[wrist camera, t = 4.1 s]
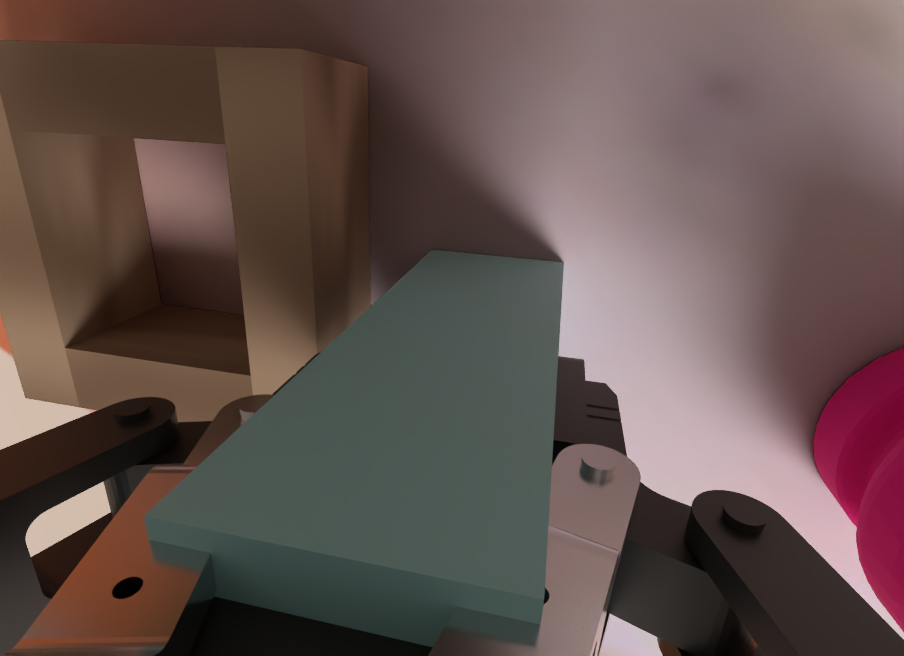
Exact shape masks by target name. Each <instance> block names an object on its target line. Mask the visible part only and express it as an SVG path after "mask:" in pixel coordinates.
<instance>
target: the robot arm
mask: <svg viewBox="0 0 904 656" xmlns="http://www.w3.org/2000/svg"><path fill="white" fill-rule="evenodd" d="M320 353H321V352H320ZM320 353H317V354H316V355H314V356H313V357H312V358H311V359H310V360H309V361H308V362H307V363H306V364H305V366H302V367H301V368H300V369H299V370H298V371H297V372H296V374H294V375H293V376H292V377H290V378H289V379H288V380H287V381H286V382H285V383H284V384H283V385H282V386H281V387H279V388H278V389H277V390H276V391H275V392H274V393H273V394H272V395H269V394H260V395H252V396H247V397H243V398H240V399H237V400H234V401H232V402H230V403H228V404H227V405H225V406H224V407H223V408H222V409H221V410H220V411H219V412H218V414H217V415H216V416H215V418H214V419H213V421H197V422H178V419H177V413H176V408H175V405H174V404H173V402H171V401H170V400H167V399H165V398H160V397H140V398H133V399H128V400H124V401H121V402H118V403H115V404H112V405H110V406H107V407H105V408H102V409H100V410H98V411H95V412H93V413H90V414H88V415H85V416H83V417H81V418H78V419H75V420H73V421H70V422H68V423H66V424H63V425H61V426H58V427H56V428H54V429H51V430H48V431H46V432H43V433H41V434H39V435H36V436H34V437H31V438H29V439H26V440H24V441H21V442H19V443H16V444H14V445H11V446H9V447H6V448H4V449H1V450H0V656H600V652H601V648H602V644H603V641H604V637H605V633H606V629H607V625H608V621H609V618H610V614H612V615H614V616H616V617H618V618H620V619H622V620H624V621H626V622H628V623H630V624H632V625H634V626H636V627H638V628H640V629H642V630H644V631H646V632H648V633H650V634H652V635H654V636H656V637H657V640H658V644H659V648H660V650H661V652H662V654H663V656H904V640H903V639H902V638H901V637H900V636H899V635H898V634H897V633H896V632H895V631H894V630H893V629H892V628H891V627H890V626H889V624H888V623H887V622H886V621H885V620H884V619H883V618H882V617H881V616H880V615H879V614H878V613H877V612H876V611H875V610H874V609H873V608H872V607H871V606H870V605H869V604H868V603H867V602H866V601H865V600H864V599H863V598H862V597H861V596H860V595H859V594H858V593H857V592H856V591H855V590H854V589H853V588H852V587H851V586H850V585H849V584H848V583H847V582H846V581H845V580H844V579H843V578H842V577H841V576H840V575H839V574H838V573H837V572H836V571H835V570H834V569H833V568H832V567H831V566H830V565H829V563H828V562H827V561H826V560H825V559H824V558H823V557H822V556H821V555H820V554H819V553H818V552H817V551H816V550H815V549H814V548H813V547H812V546H811V545H810V544H809V543H808V542H807V541H806V540H805V539H804V538H803V537H802V536H801V535H800V534H799V533H798V532H797V531H796V530H795V529H794V528H793V527H792V526H791V525H790V524H789V523H788V522H787V521H786V520H785V519H784V518H783V517H782V516H781V515H780V514H779V513H778V512H776V511H775V510H773V509H772V508H771V507H769V506H767V505H766V504H764V503H762V502H760V501H758V500H756V499H754V498H751V497H749V496H746V495H743V494H740V493H736V492H732V491H725V490H712V491H706V492H703V493H701V494H699V495H698V496H697V497H696V498H695V499H694V501H693V503H692V506H688V505H685V504H683V503H680V502H677V501H675V500H672V499H669V498H667V497H664V496H662V495H660V494H658V493H656V492H654V491H652V490H651V489H649V488H648V487H646V486H645V485H644V484H642V483H641V482H640V478H641V476H640V472H639V470H638V468H637V466H636V465H635V464H634V463H633V462H632V461H631V460H630V459H629V458H628V457H627V454H626V448H625V442H624V436H623V430H622V424H621V418H620V412H619V406H618V399H617V395H616V394H615V393H614V392H613V391H612V390H611V389H610V388H609V387H608V386H607V385H606V383H598V382H591V381H585V368H584V360H583V359H575V358H567V357H560V356H558V369H557V386H556V403H555V421H554V438H553V455H552V473H551V490H550V507H549V525H548V542H547V559H546V577H545V594H544V604H543V611H542V617H541V624H535V623H531V622H526V621H522V620H517V619H512V618H508V617H503V616H499V615H494V614H489V613H485V612H480V611H475V610H471V609H466V608H462V607H456V609H455V610H454V612H453V614H452V616H451V617H450V619H449V621H448V622H447V624H446V626H445V628H444V629H443V631H442V633H441V634H440V636H439V638H438V640H437V641H436V643H435V645H434V646H433V647H429V646H425V645H421V644H417V643H412V642H408V641H404V640H399V639H395V638H391V637H387V636H382V635H378V634H374V633H369V632H365V631H361V630H356V629H352V628H348V627H344V626H339V625H335V624H331V623H326V622H322V621H318V620H314V619H309V618H305V617H301V616H296V615H292V614H288V613H283V612H279V611H275V610H271V609H266V608H262V607H258V606H253V605H249V604H245V603H241V602H236V601H232V600H228V599H223V598H219V597H215V596H214V595H215V593H216V591H217V588H216V582H215V576H214V570H213V564H212V558H211V553H208V552H204V551H199V550H195V549H190V548H185V547H181V546H176V545H171V544H167V543H162V542H158V541H153V540H149V538H148V534H147V529H146V525H145V520H144V516H145V515H146V514H147V513H148V512H149V511H150V510H151V509H152V508H153V507H154V506H155V505H156V504H157V503H159V502H160V501H161V500H162V499H163V498H164V497H165V496H166V495H167V494H168V493H169V492H170V491H172V490H173V489H174V488H175V487H176V486H177V485H178V484H179V483H180V482H181V481H182V480H183V479H185V478H186V477H187V476H188V475H189V474H190V473H191V472H192V471H193V470H194V469H195V468H196V467H197V466H199V465H200V464H201V463H202V462H203V461H204V460H205V459H206V458H207V457H208V456H209V455H210V454H212V453H213V452H214V451H215V450H216V449H217V448H218V447H219V446H220V445H221V444H222V443H223V442H225V441H226V440H227V439H228V438H229V437H230V436H231V435H232V434H233V433H234V432H235V431H236V430H237V429H239V428H240V427H241V426H242V425H243V424H244V423H245V422H246V421H247V420H248V419H249V418H250V417H252V416H253V415H254V414H255V413H256V412H257V411H258V410H259V409H260V408H261V407H262V406H263V405H265V404H266V403H267V402H268V401H269V400H270V399H271V398H272V397H273V396H274V395H275V394H276V393H277V392H279V391H280V390H281V389H282V388H283V387H284V386H285V385H286V384H287V383H288V382H289V381H290V380H292V379H293V378H294V377H295V376H296V375H297V374H298V373H299V372H300V371H301V370H302V369H303V368H305V367H306V366H307V365H308V364H309V363H310V362H311V361H312V360H313V359H314V358H315V357H316V356H317V355H319V354H320ZM103 481H104V485H105V489H106V493H107V497H108V501H109V505H110V509H111V513H109V514H107V515H105V516H103V517H102V518H100V519H98V520H96V521H95V522H93V523H91V524H89V525H88V526H86V527H84V528H82V529H80V530H79V531H77V532H75V533H73V534H72V535H70V536H68V537H66V538H64V539H63V540H61V541H59V542H58V543H56V544H54V545H52V546H51V547H49V548H47V549H45V550H43V551H42V552H40V553H38V554H36V555H34V556H33V557H30V554H29V551H28V548H27V545H26V541H25V536H26V532H27V530H28V528H29V526H30V524H31V523H32V522H33V521H34V520H35V519H36V518H37V517H38V516H39V515H40V514H41V513H43V512H45V511H46V510H48V509H50V508H52V507H54V506H56V505H58V504H60V503H62V502H64V501H66V500H68V499H70V498H71V497H74V496H75V495H77V494H79V493H81V492H83V491H85V490H87V489H89V488H91V487H93V486H95V485H97V484H99V483H101V482H103Z"/></svg>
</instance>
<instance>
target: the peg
mask: <svg viewBox="0 0 904 656" xmlns="http://www.w3.org/2000/svg"><path fill="white" fill-rule="evenodd" d="M563 265H564V262H557V261H546V260H536V259H525V258H515V257H505V256H494V255H484V254H473V253H463V252H452V251H442V250H431V251H430V252H429V253H428V254H427V255H426V256H425V257H423V258H422V259H421V260H420V261H419V262H418V263H417V264H416V265H415V266H414V267H413V268H412V269H410V270H409V271H408V272H407V273H406V274H405V275H404V276H403V277H402V278H401V279H400V280H399V281H397V282H396V283H395V284H394V285H393V286H392V287H391V288H390V289H389V290H388V291H387V292H386V293H385V294H383V295H382V296H381V297H380V298H379V299H378V300H377V301H376V302H375V303H374V304H373V305H372V306H370V307H369V308H368V309H367V310H366V311H365V312H364V313H363V314H362V315H361V316H360V317H359V318H357V319H356V320H355V321H354V322H353V323H352V324H351V325H350V326H349V327H348V328H347V329H346V330H345V331H343V332H342V333H341V334H340V335H339V336H338V337H337V338H336V339H335V340H334V341H333V342H332V343H330V344H329V345H328V346H327V347H326V348H325V349H324V350H323V351H322V352H321V353H320V354H319V355H317V356H316V357H315V358H314V359H313V360H312V361H311V362H310V363H309V364H308V365H307V366H306V367H305V368H303V369H302V370H301V371H300V372H299V373H298V374H297V375H296V376H295V377H294V378H293V379H292V380H290V381H289V382H288V383H287V384H286V385H285V386H284V387H283V388H282V389H281V390H280V391H279V392H277V393H276V394H275V395H274V396H273V397H272V398H271V399H270V400H269V401H268V402H267V403H266V404H265V405H263V406H262V407H261V408H260V409H259V410H258V411H257V412H256V413H255V414H254V415H253V416H252V417H250V418H249V419H248V420H247V421H246V422H245V423H244V424H243V425H242V426H241V427H240V428H239V429H237V430H236V431H235V432H234V433H233V434H232V435H231V436H230V437H229V438H228V439H227V440H226V441H225V442H223V443H222V444H221V445H220V446H219V447H218V448H217V449H216V450H215V451H214V452H213V453H212V454H210V455H209V456H208V457H207V458H206V459H205V460H204V461H203V462H202V463H201V464H200V465H199V466H197V467H196V468H195V469H194V470H193V471H192V472H191V473H190V474H189V475H188V476H187V477H186V478H185V479H183V480H182V481H181V482H180V483H179V484H178V485H177V486H176V487H175V488H174V489H173V490H172V491H170V492H169V493H168V494H167V495H166V496H165V497H164V498H163V499H162V500H161V501H160V502H159V503H157V504H156V505H155V506H154V507H153V508H152V509H151V510H150V511H149V512H148V513H147V514H146V515H145V516H144V520H145V525H146V529H147V534H148V538H149V540H153V541H158V542H162V543H167V544H171V545H176V546H181V547H185V548H190V549H195V550H199V551H204V552H208V553H211V558H212V564H213V570H214V576H215V582H216V588H217V591H216V593H215V595H214V596H215V597H219V598H223V599H228V600H232V601H236V602H241V603H245V604H249V605H253V606H258V607H262V608H266V609H271V610H275V611H279V612H283V613H288V614H292V615H296V616H301V617H305V618H309V619H314V620H318V621H322V622H326V623H331V624H335V625H339V626H344V627H348V628H352V629H356V630H361V631H365V632H369V633H374V634H378V635H382V636H387V637H391V638H395V639H399V640H404V641H408V642H412V643H417V644H421V645H425V646H429V647H433V646H434V645H435V643H436V641H437V640H438V638H439V636H440V634H441V633H442V631H443V629H444V628H445V626H446V624H447V622H448V621H449V619H450V617H451V616H452V614H453V612H454V610H455V609H456V607H462V608H466V609H471V610H475V611H480V612H485V613H489V614H494V615H499V616H503V617H508V618H512V619H517V620H522V621H526V622H531V623H535V624H541V617H542V611H543V604H544V594H545V577H546V559H547V542H548V525H549V507H550V490H551V473H552V455H553V438H554V421H555V403H556V386H557V369H558V352H559V334H560V317H561V300H562V282H563Z"/></svg>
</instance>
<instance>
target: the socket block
mask: <svg viewBox="0 0 904 656" xmlns="http://www.w3.org/2000/svg"><path fill="white" fill-rule="evenodd" d="M133 138H141V139H156V140H171V141H187V142H202V143H217V144H225V145H226V154H227V163H228V172H229V181H230V190H231V199H232V209H233V218H234V227H235V236H236V245H237V254H238V263H239V273H240V282H241V291H242V300H243V309H244V315H239V314H231V313H224V312H216V311H208V310H200V309H192V308H185V307H177V306H169V305H161V299H160V293H159V287H158V281H157V275H156V270H155V264H154V258H153V252H152V246H151V240H150V235H149V229H148V223H147V217H146V211H145V205H144V200H143V194H142V188H141V182H140V176H139V170H138V165H137V159H136V153H135V147H134V141H133ZM370 306H371V283H370V202H369V121H368V66H364V65H360V64H356V63H353V62H349V61H345V60H341V59H337V58H334V57H330V56H326V55H322V54H318V53H315V52H311V51H307V50H303V49H290V48H256V47H222V46H188V45H155V44H121V43H87V42H53V41H19V40H0V314H1V317H2V320H3V324H4V327H5V330H6V334H7V337H8V341H9V344H10V347H11V351H12V354H13V358H14V361H15V364H16V367H17V371H18V374H19V377H20V381H21V384H22V388H23V391H24V395H25V398H29V399H35V400H41V401H46V402H53V403H58V404H64V405H70V406H75V407H81V408H87V409H93V410H100V409H102V408H105V407H107V406H110V405H112V404H115V403H118V402H121V401H124V400H128V399H133V398H140V397H160V398H165V399H167V400H170V401H171V402H173V404H174V405H175V408H176V413H177V419H178V422H197V421H213V419H214V418H215V416H216V415H217V414H218V412H219V411H220V410H221V409H222V408H223V407H224V406H225V405H227V404H228V403H230V402H232V401H234V400H237V399H240V398H243V397H247V396H252V395H260V394H269V395H272V394H273V393H274V392H275V391H276V390H277V389H278V388H279V387H281V386H282V385H283V384H284V383H285V382H286V381H287V380H288V379H289V378H290V377H292V376H293V375H294V374H296V372H297V371H298V370H299V369H300V368H301V367H302V366H305V364H306V363H307V362H308V361H309V360H310V359H311V358H312V357H313V356H314V355H316V354H317V353H320V352H322V351H323V350H324V349H325V348H326V347H327V346H328V345H329V344H330V343H332V342H333V341H334V340H335V339H336V338H337V337H338V336H339V335H340V334H341V333H342V332H343V331H345V330H346V329H347V328H348V327H349V326H350V325H351V324H352V323H353V322H354V321H355V320H356V319H357V318H359V317H360V316H361V315H362V314H363V313H364V312H365V311H366V310H367V309H368V308H369V307H370Z"/></svg>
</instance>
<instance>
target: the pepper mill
mask: <svg viewBox="0 0 904 656" xmlns="http://www.w3.org/2000/svg"><path fill="white" fill-rule="evenodd" d="M814 457H815V462H816V465H817V469H818V472H819V474H820V476H821V478H822V479H823V481H824V483H825V484H826V486H827V487H828V489H829V490H830V491H831V493H832V494H833V496H834V497H835V498H836V500H837V501H838V503H839V504H840V506H841V507H842V508H843V510H844V511H845V513H846V514H847V516H848V517H849V518H850V520H851V521H852V523H853V524H854V525H855V526H856V527H857V531H856V542H857V548H858V554H859V560H860V563H861V565H862V568H863V570H864V573H865V575H866V578H867V580H868V582H869V584H870V586H871V587H872V589H873V591H874V593H875V595H876V596H877V598H878V599H879V600H880V602H881V603H882V604H883V606H884V607H885V608H886V610H887V611H888V612H889V613H890V615H891V616H892V617H893V619H894V620H895V621H896V623H897V624H898V625H899V626H900V628H901V629H902V630H903V632H904V348H901V349H898V350H896V351H894V352H891V353H889V354H887V355H884V356H882V357H880V358H877V359H876V360H874V361H873V362H871V363H870V364H868V365H867V366H865V367H864V368H863V369H861V370H860V371H858V372H857V373H855V374H854V375H853V376H851V377H850V378H848V379H847V380H846V382H845V383H844V384H843V385H842V386H841V387H840V388H839V389H838V390H837V392H836V393H835V394H834V395H833V396H832V397H831V398H830V400H829V401H828V402H827V404H826V406H825V408H824V410H823V412H822V414H821V416H820V419H819V421H818V424H817V428H816V432H815V436H814Z"/></svg>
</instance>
